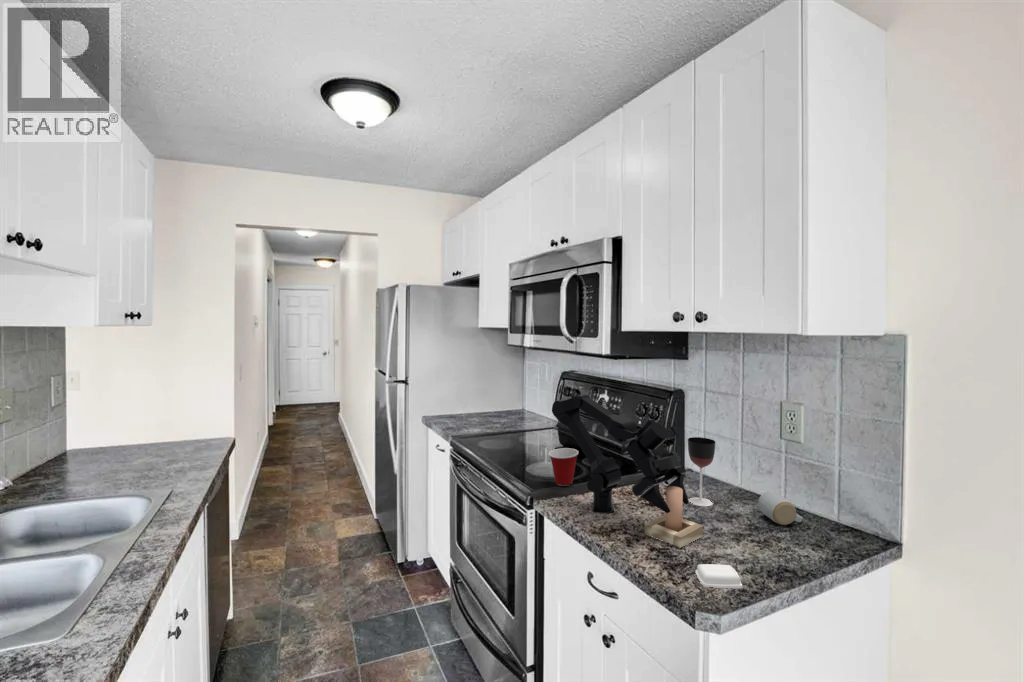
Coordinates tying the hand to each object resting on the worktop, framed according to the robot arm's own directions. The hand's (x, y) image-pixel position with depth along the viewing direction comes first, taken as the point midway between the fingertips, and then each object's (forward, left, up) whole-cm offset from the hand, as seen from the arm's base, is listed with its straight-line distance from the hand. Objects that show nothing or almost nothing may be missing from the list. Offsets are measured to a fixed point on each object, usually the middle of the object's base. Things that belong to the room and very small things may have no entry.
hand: (678, 508), depth 131 cm
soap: (+21, +4, -9) cm, 23 cm away
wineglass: (-27, +13, -8) cm, 31 cm away
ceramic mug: (-14, +33, -8) cm, 36 cm away
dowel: (-1, -1, -8) cm, 8 cm away
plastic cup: (-40, -31, -8) cm, 51 cm away
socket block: (-1, -1, -8) cm, 8 cm away
